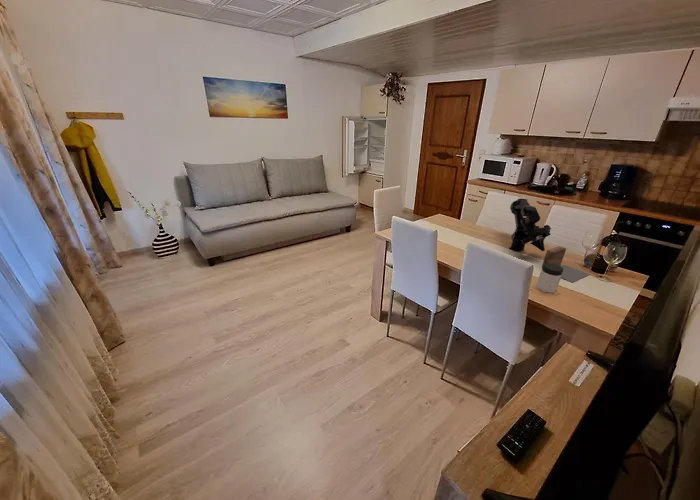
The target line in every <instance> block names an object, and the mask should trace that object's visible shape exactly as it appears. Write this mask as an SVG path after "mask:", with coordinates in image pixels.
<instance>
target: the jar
mask: <svg viewBox="0 0 700 500" xmlns="http://www.w3.org/2000/svg"><path fill="white" fill-rule="evenodd" d="M560 266H561V265H560ZM560 266H558V265H556V264H551V263H546V264H544V265H543V268H541V270H540V272H539V276H538V279H537V282H536V285H535V287H536V288H537V289H539V290H540V291H542V292H543V293H544V292H545V293H549V294H554V293H555V292H556V291H557V289H558V287H559V285H560V281H561V279H562V278H561V276H562V273H563V268H562V267H560Z"/></svg>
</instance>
